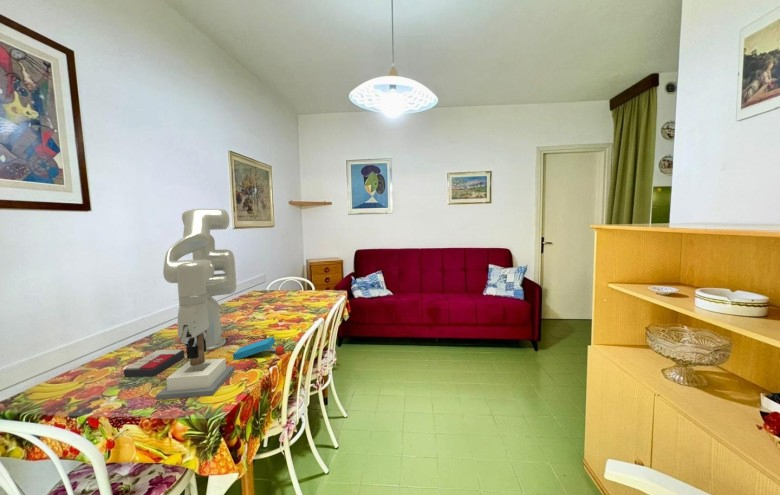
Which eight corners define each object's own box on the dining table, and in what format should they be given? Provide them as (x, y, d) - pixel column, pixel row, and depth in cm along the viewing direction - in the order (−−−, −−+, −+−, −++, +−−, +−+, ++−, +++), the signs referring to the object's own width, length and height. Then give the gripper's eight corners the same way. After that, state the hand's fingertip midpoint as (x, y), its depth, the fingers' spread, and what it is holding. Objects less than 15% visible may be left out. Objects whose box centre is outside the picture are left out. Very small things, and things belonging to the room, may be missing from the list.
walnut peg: (194, 360, 97) (192, 331, 96) (207, 359, 97) (205, 330, 97) (187, 366, 93) (185, 335, 92) (200, 365, 93) (198, 334, 93)
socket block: (187, 373, 103) (186, 358, 102) (234, 370, 104) (233, 355, 104) (156, 399, 87) (154, 382, 86) (212, 395, 89) (211, 377, 88)
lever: (238, 371, 114) (282, 356, 115) (232, 354, 113) (276, 340, 114) (245, 363, 121) (287, 349, 121) (240, 347, 120) (282, 333, 121)
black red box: (122, 368, 101) (157, 348, 116) (124, 379, 102) (158, 358, 117) (153, 367, 101) (184, 347, 116) (155, 379, 102) (185, 358, 116)
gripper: (195, 295, 102) (198, 345, 103) (163, 307, 85) (168, 367, 86) (217, 294, 103) (220, 344, 104) (190, 306, 86) (195, 365, 87)
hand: (196, 354), depth 95 cm, fingers closed on walnut peg, 4 cm apart
